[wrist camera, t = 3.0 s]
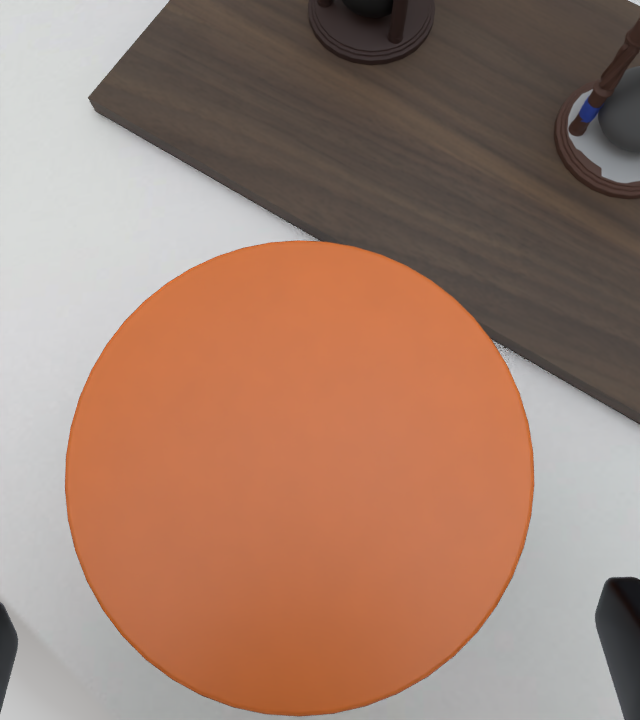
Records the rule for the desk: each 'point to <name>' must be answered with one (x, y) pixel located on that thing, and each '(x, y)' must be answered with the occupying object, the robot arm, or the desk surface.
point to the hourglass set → (427, 149)
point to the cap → (299, 478)
